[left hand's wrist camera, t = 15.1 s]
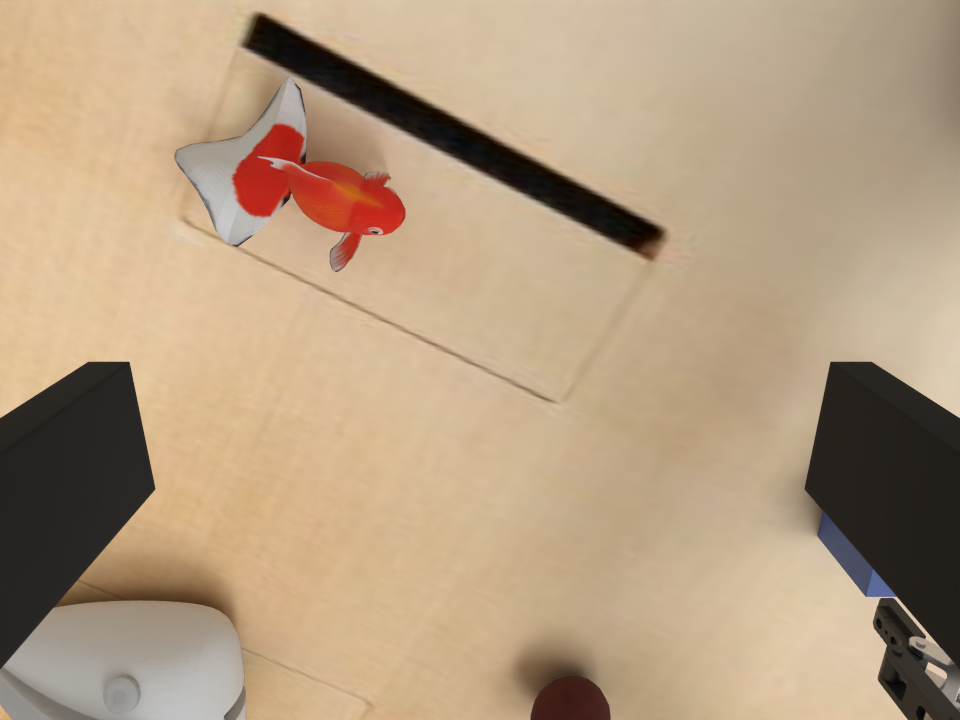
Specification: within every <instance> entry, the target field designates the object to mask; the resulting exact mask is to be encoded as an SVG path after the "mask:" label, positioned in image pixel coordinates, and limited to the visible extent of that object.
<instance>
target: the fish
mask: <svg viewBox="0 0 960 720" xmlns="http://www.w3.org/2000/svg"><path fill="white" fill-rule="evenodd" d="M175 161H176V162H177V164H178V166H179V168H180V169H181V170H182V171H183V172H184V174H185V175H186V176H187V177H188V179H189V180H190V182H191V183H192V184H193V186H194V187H195V189H196V190H197V192H198V193H199V195H200V197H201V199H202V200H203V202H204V204H205V206H206V208H207V210H208V211H209V214H210V217H211V219H212V222H213V225H214V227H215V230H216V231H217V232H218V234H219V235H220V236H221V237H222V238H223V239H224V241H225V242H226V243H227V244H230V245H233V246H236V247H238V246H239V245H241V244H242V243H243V242H245V241H246V240H247V239H249V238H250V237H251V236H253V235H254V234H255V233H256V232H257V231H259V230H260V229H261V228H262V227H263V226H264V225H265V224H266V223H267V222H268V221H269V220H270V219H271V218H272V217H273V216H274V215H275V214H276V213H277V212H278V211H279V210H280V209H281V207H282V206H283V205H284V204H285V203H286V202H287V201H288V200H289V198H290V195H291V196H293V197H294V199H295V201H296V202H297V204H298V206H299V207H300V209H301V210H302V211H303V212H304V213H305V215H307V216H308V217H309V218H310V219H312V220H313V221H314V222H316V223H318V224H319V225H321V226H323V227H325V228H328V229H330V230H334V231H337V232H346V233H345V234H344V236H343V238H342V239H341V241H340V242H339V243H338V244H337V245H336V246H334V247H333V248H332V249H331V251H330V264H331V267H332V269H333V270H334V271H335V272H337V271H340V270H341V269H342V268H344V267H345V266H346V264H347V263H348V261H349V260H350V259H351V258H352V257H353V256H354V254H355V252H356V250H357V248H358V246H359V243H360V240H361V237H362V235H386V234H389V233H392V232H393V231H394V230H396V229H397V228H398V227H399V226H400V225H401V224H402V222H403V221H404V219H405V208H404V206H403V204H402V202H401V200H400V198H399V197H398V195H397V193H396V192H395V191H394V190H393V189H391V188H389V187H383V186H384V184H385V183H386V182H387V180H388V179H390V178H391V177H390V176H389V173H384V172H370V173H367V174H366V175H365V177H363V176H361V175H360V174H359V173H357V172H356V171H354V170H353V169H351V168H349V167H346V166H343V165H341V164H337V163H332V162H324V161H314V162H309V163H305V161H306V116H305V109H304V104H303V99H302V94H301V89H300V88H299V87H298V86H297V85H296V84H295V83H294V82H293V81H292V80H291V79H290V78H289V77H288V78H287V79H286V80H285V81H284V82H283V84H282V85H281V86H280V88H279V89H278V91H277V93H276V94H275V96H274V97H273V99H272V101H271V102H270V104H269V105H268V107H267V108H266V110H265V111H264V112H263V114H262V115H261V117H260V118H259V119H258V121H257V122H256V123H255V124H254V125H253V126H252V127H251V128H250V129H249V130H248V131H247V132H246V133H245V134H244V135H243V136H241V137H236V138H232V139H227V140H222V141H218V142H208V143H197V144H190V145H188V146H185V147H182V148H180V149H177V151H176V153H175Z"/></svg>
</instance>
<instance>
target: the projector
mask: <svg viewBox="0 0 960 720" xmlns="http://www.w3.org/2000/svg"><path fill="white" fill-rule="evenodd" d="M244 678H245V675H244V664H243V656H242V649H241V644H240V640H239V636H238V634H237V631H236V629H235V628H234V626H233V624H232V622H231V621H230V619H229V618H228V617H227V616H226V615H225V614H223V613H222V612H220V611H219V610H217V609H214V608H212V607H208V606H204V605H199V604H193V603H184V602H171V601H141V600H139V601H106V602H93V603H82V604H74V605H67V606H61V607H54V608H53V609H52V610H51V611H50V612H49V614H48V615H47V616H46V617H45V618H44V619H43V621H42V622H41V623H40V624H39V625H38V626H37V628H36V629H35V630H34V631H33V632H32V633H31V635H30V636H29V637H28V638H27V639H26V640H25V641H24V643H23V644H22V645H21V646H20V647H19V648H18V650H17V651H16V652H15V653H14V654H13V655H12V657H11V658H10V659H9V660H8V661H7V662H6V664H5V665H4V666H3V667H2V668H1V669H0V705H1V706H2V708H3V709H4V710H5V711H6V712H7V714H8V715H9V716H10V717H11V718H12V719H13V720H246V715H247V709H246V691H245V687H244Z"/></svg>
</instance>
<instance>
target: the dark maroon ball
mask: <svg viewBox="0 0 960 720" xmlns="http://www.w3.org/2000/svg"><path fill="white" fill-rule="evenodd" d="M531 720H611V718H610V708H609V704H608V702H607V700H606V698H605V696H604V695H603V693H602V691H601V690H600V688H599V687H598V686H597V685H596V684H594V683H593V682H591V681H590V680H588V679H585V678H581V677H565V678H562V679H559V680H556V681H554V682H552V683H551V684H549V685H548V686H546V687H545V688H544V689H543V690H542V691H541V692H540V693H539V695H538V696H537V698H536V700H535V702H534V705H533V709H532V713H531Z"/></svg>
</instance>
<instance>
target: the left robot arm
mask: <svg viewBox="0 0 960 720" xmlns="http://www.w3.org/2000/svg"><path fill="white" fill-rule="evenodd" d="M154 490H155V485H154V480H153V475H152V470H151V465H150V460H149V455H148V450H147V445H146V441H145V436H144V431H143V426H142V421H141V416H140V411H139V406H138V401H137V397H136V392H135V387H134V382H133V377H132V372H131V367H130V362H87V363H86V364H84V365H83V366H81V367H80V368H78V369H76V370H75V371H73V372H72V373H70V374H69V375H67V376H66V377H64V378H62V379H61V380H59V381H58V382H56V383H55V384H53V385H51V386H50V387H48V388H47V389H45V390H44V391H42V392H41V393H39V394H37V395H36V396H34V397H33V398H31V399H30V400H28V401H26V402H25V403H23V404H22V405H20V406H19V407H17V408H16V409H14V410H12V411H11V412H9V413H8V414H6V415H5V416H3V417H1V418H0V669H1V668H2V667H3V666H4V665H5V664H6V662H7V661H8V660H9V659H10V658H11V657H12V655H13V654H14V653H15V652H16V651H17V650H18V648H19V647H20V646H21V645H22V644H23V643H24V641H25V640H26V639H27V638H28V637H29V636H30V635H31V633H32V632H33V631H34V630H35V629H36V628H37V626H38V625H39V624H40V623H41V622H42V621H43V619H44V618H45V617H46V616H47V615H48V614H49V612H50V611H51V610H52V609H53V608H54V607H55V605H56V604H57V603H58V602H59V601H60V600H61V598H62V597H63V596H64V595H65V594H66V593H67V591H68V590H69V589H70V588H71V587H72V586H73V584H74V583H75V582H76V581H77V580H78V579H79V577H80V576H81V575H82V574H83V573H84V572H85V571H86V569H87V568H88V567H89V566H90V565H91V564H92V562H93V561H94V560H95V559H96V558H97V557H98V555H99V554H100V553H101V552H102V551H103V550H104V548H105V547H106V546H107V545H108V544H109V543H110V541H111V540H112V539H113V538H114V537H115V536H116V534H117V533H118V532H119V531H120V530H121V529H122V527H123V526H124V525H125V524H126V523H127V522H128V520H129V519H130V518H131V517H132V516H133V515H134V513H135V512H136V511H137V510H138V509H139V508H140V507H141V505H142V504H143V503H144V502H145V501H146V500H147V498H148V497H149V496H150V495H151V494H152V493H153V491H154ZM805 490H806V491H807V493H808V494H809V495H810V496H811V497H812V498H813V500H814V501H815V502H816V503H817V504H818V505H819V507H820V508H821V509H822V510H823V511H824V512H825V513H826V515H827V516H828V517H829V518H830V519H831V520H832V522H833V523H834V524H835V525H836V526H837V527H838V529H839V530H840V531H841V532H842V533H843V534H844V536H845V537H846V538H847V539H848V540H849V541H850V543H851V544H852V545H853V546H854V547H855V548H856V550H857V551H858V552H859V553H860V554H861V555H862V557H863V558H864V559H865V560H866V561H867V562H868V564H869V565H870V566H871V567H872V568H873V569H874V571H875V572H876V573H877V574H878V575H879V576H880V577H881V579H882V580H883V581H884V582H885V583H886V584H887V586H888V587H889V588H890V589H891V590H892V591H893V593H894V594H895V595H896V596H897V597H898V598H899V600H900V601H901V602H902V603H903V604H904V605H905V607H906V608H907V609H908V610H909V611H910V612H911V614H912V615H913V616H914V617H915V618H916V619H917V621H918V622H919V623H920V624H921V625H922V626H923V628H924V629H925V630H926V631H927V632H928V633H929V635H930V636H931V637H932V638H933V639H934V640H935V641H936V643H937V644H938V645H939V646H940V647H941V648H942V650H943V651H944V652H945V653H946V654H947V655H948V657H949V658H950V659H951V660H952V661H953V662H954V664H955V665H956V666H957V667H958V668H959V669H960V418H959V417H957V416H955V415H954V414H952V413H951V412H949V411H948V410H946V409H944V408H943V407H941V406H940V405H938V404H937V403H935V402H934V401H932V400H930V399H929V398H927V397H926V396H924V395H923V394H921V393H919V392H918V391H916V390H915V389H913V388H912V387H910V386H909V385H907V384H905V383H904V382H902V381H901V380H899V379H898V378H896V377H894V376H893V375H891V374H890V373H888V372H887V371H885V370H884V369H882V368H880V367H879V366H877V365H876V364H874V363H873V362H830V367H829V372H828V377H827V382H826V387H825V392H824V397H823V401H822V406H821V411H820V416H819V421H818V426H817V431H816V436H815V441H814V445H813V450H812V455H811V460H810V465H809V470H808V475H807V480H806V485H805Z"/></svg>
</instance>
